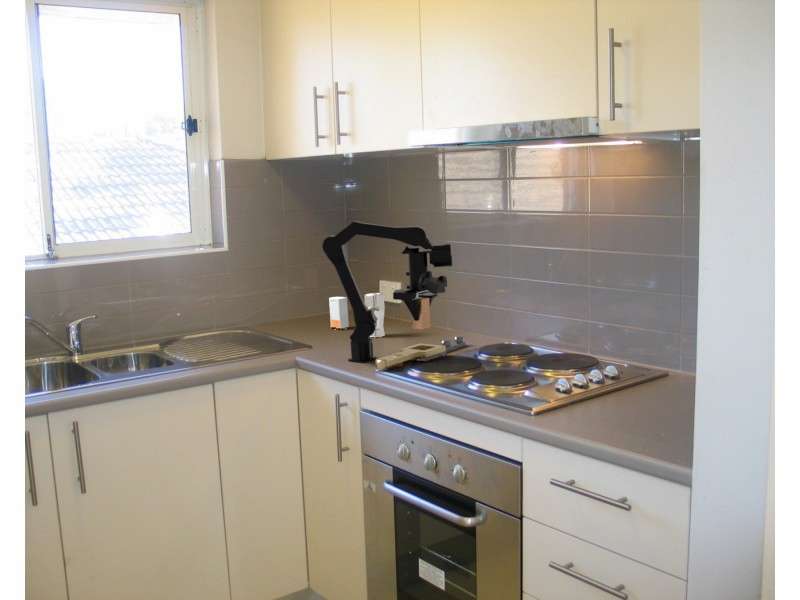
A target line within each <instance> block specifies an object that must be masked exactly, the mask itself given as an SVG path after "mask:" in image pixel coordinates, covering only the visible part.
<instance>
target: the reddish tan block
mask: <svg viewBox="0 0 800 600" xmlns="http://www.w3.org/2000/svg"><path fill="white" fill-rule="evenodd" d="M419 298H422V300H421V301H420V303H419V317H418V321H415V320H414V318H413V316H412V315H411V314H410V316H411V328H412V329H414V330H415V329H416V330H426V329H429V328H431V305H429V298H424V297H419Z"/></svg>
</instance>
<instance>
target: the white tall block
mask: <svg viewBox="0 0 800 600" xmlns="http://www.w3.org/2000/svg"><path fill="white" fill-rule="evenodd" d="M364 303H365V305H366V306H367V307H368V309H370V308H372V307H373V310H374V314H375V316H376V317H377V318H378V320H377V327H376V329H375V331H374V333H373V334H372V335H371V336H370V337H374V338H373V339H376V338H375V337H379V338H384V337H385V336H386V333H385V330H384V319H385V310H386V308H385V299H384V293H382V292H370V293H365V294H364ZM383 336H384V337H383Z"/></svg>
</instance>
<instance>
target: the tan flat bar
mask: <svg viewBox="0 0 800 600" xmlns="http://www.w3.org/2000/svg"><path fill="white" fill-rule="evenodd" d="M453 339H454V340H450V339H442V340H441V343H440V344H430V343H429V344H428V343H421V342H420V343H417V344H413V345H410V346H406V347H403V348H400V349H399V352H395V353H393V354H389V355H386V356H382V357H378V358H376V359H374V360H375V365H376V366H377V372H380V371H382V370H387V369H388V367H390V366H393V367H396V366H398V367H402V365H404V362H406V361H412V362H413V361H414V360H417V359H422V358H429V357H434V356H443V355H446V356H447V353H449V352H452V351H455V350H458V349H462V348H465V347H466V341H464V336H463V335H455V336H454V337H453ZM443 357H444V356H443ZM414 362H415V361H414ZM387 371H388V370H387Z"/></svg>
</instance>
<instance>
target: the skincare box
mask: <svg viewBox="0 0 800 600" xmlns="http://www.w3.org/2000/svg"><path fill="white" fill-rule="evenodd" d="M328 300H329V301H328V302H329V303H328V305H329V318H330V319H329V320H330V328H331V327H336V328H345V327H349V328H350V326H349V311H348V297H346V296H332V297H329V298H328Z"/></svg>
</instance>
